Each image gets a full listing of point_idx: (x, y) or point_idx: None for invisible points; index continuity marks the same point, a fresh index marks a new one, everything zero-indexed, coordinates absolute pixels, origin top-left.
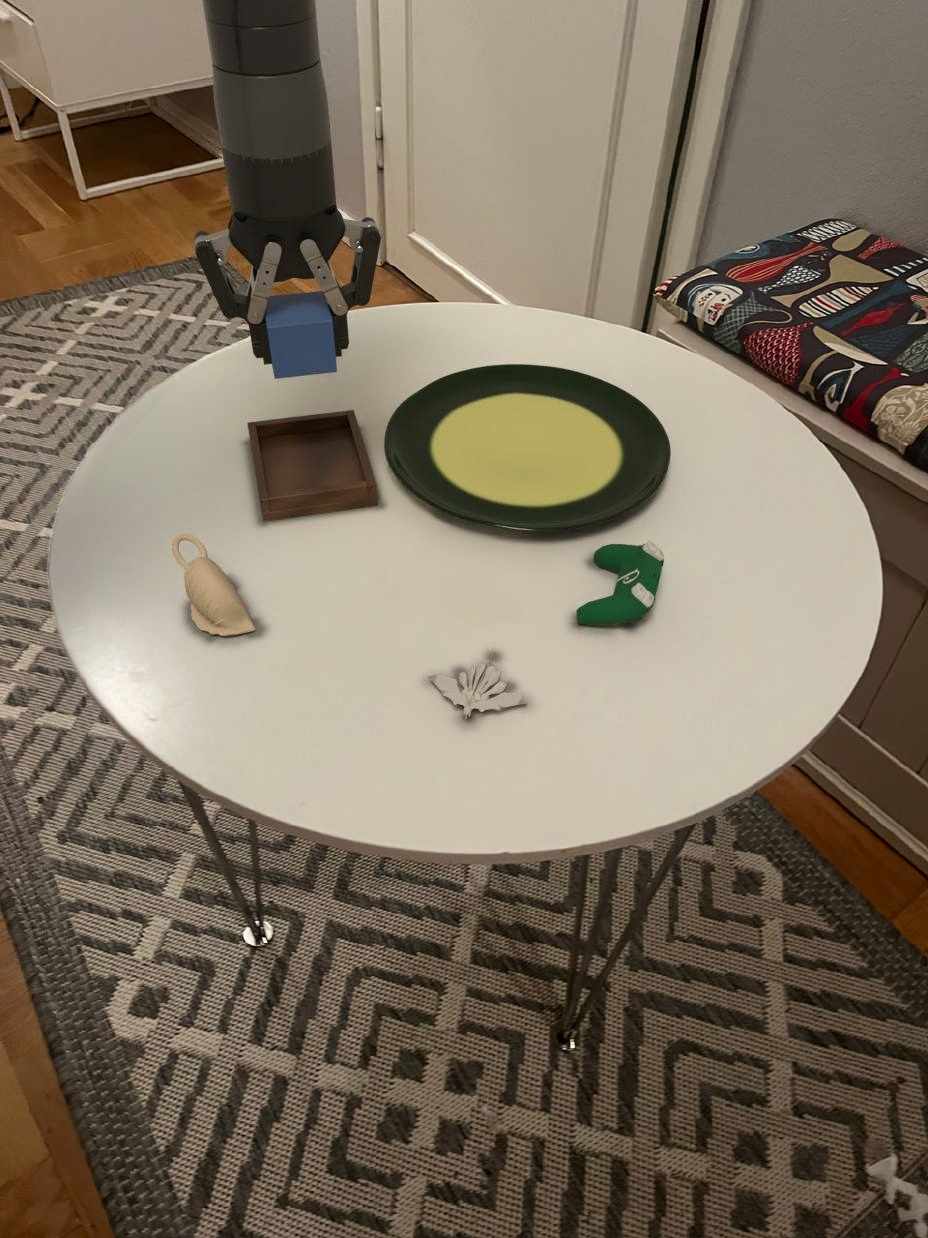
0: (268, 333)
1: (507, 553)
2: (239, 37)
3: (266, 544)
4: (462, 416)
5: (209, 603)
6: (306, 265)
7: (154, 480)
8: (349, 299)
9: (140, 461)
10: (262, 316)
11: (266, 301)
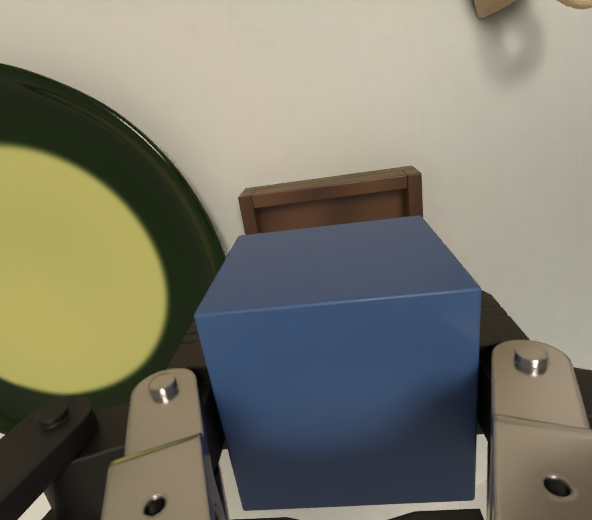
0: (469, 275)
1: (51, 59)
2: None
3: (410, 111)
4: (127, 354)
5: None
6: None
7: (562, 273)
8: (119, 427)
9: (577, 315)
10: (497, 360)
11: (496, 409)
